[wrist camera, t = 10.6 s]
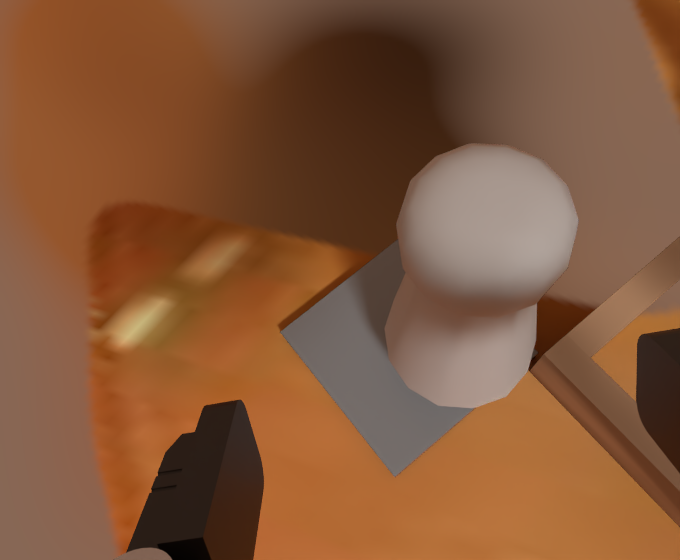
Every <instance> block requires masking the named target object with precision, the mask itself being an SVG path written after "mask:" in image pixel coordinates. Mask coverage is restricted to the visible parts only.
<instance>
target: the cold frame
mask: <svg viewBox="0 0 680 560" xmlns="http://www.w3.org/2000/svg"><path fill="white" fill-rule="evenodd" d="M679 279H680V237H679V238H677V239H676V240H675V241H674V242H673V243H672V244H671V245H669V246H668V247H667V248H666V249H665V250H664V251H662V253H660V254H659V255H658V256H657V257H656V258H654V259H653V260H652V261H651V262H650V263H649V264H648V265H646V266H645V267H644V268H643V269H642V270H641V271H639V272H638V273H637V274H636V275H635V276H634V277H632V278H631V279H630V280H629V281H628V282H627V283H625V284H624V285H623V286H622V287H621V288H620V289H618V291H616V292H615V293H614V294H613V295H612V296H610V297H609V298H608V299H607V300H606V301H605V302H603V303H602V304H601V305H600V306H599V307H598V308H596V309H595V310H594V311H593V312H592V313H591V314H590V315H588V316H587V317H586V318H585V319H584V320H583V321H581V322H580V323H579V324H578V325H577V326H576V327H575V328H573V329H572V330H571V331H570V332H569V333H568V334H566V335H565V336H564V337H563V338H562V339H561V340H559V341H558V342H557V343H556V344H555V345H554V346H553V347H551V348H550V349H549V350H548V351H547V352H546V353H544V354H543V356H542V357H541V358H540V359H539V360H538V362H537V363H536V364H535V365H534V366H533V367H532V369H531V370H530V372H531V373H532V374H533V375H534V376H535V377H536V378H537V379H538V380H539V381H540V383H541V384H542V385H543V386H544V387H545V388H546V389H547V390H548V391H549V392H550V393H551V394H552V395H553V396H554V397H555V398H556V399H557V400H558V401H559V402H560V403H561V404H562V405H563V406H564V407H565V408H566V409H567V410H568V412H569V413H570V414H571V415H572V416H573V417H574V418H575V419H576V420H577V421H578V422H579V423H580V424H581V425H582V426H583V427H584V428H585V429H586V430H587V431H588V432H589V433H590V434H591V435H592V436H593V437H594V438H595V440H596V441H597V442H598V443H599V444H600V445H601V446H602V447H603V448H604V449H605V450H606V451H607V452H608V453H609V454H610V455H611V456H612V457H613V458H614V459H615V460H616V461H617V462H618V463H619V464H620V465H621V466H622V467H623V469H624V470H625V471H626V472H627V473H628V474H629V475H630V476H631V477H632V478H633V479H634V480H635V481H636V482H637V483H638V484H639V485H640V486H641V487H642V488H643V489H644V490H645V491H646V492H647V493H648V494H649V495H650V497H651V498H652V499H653V500H654V501H655V502H656V503H657V504H658V505H659V506H660V507H661V508H662V509H663V510H664V511H665V512H666V513H667V514H668V515H669V516H670V517H671V518H672V519H673V520H674V521H675V522H676V523H677V524H678V526H679V527H680V473H679V472H678V471H677V469H676V468H675V467H674V466H673V464H672V463H671V462H670V461H669V459H668V458H667V457H666V455H665V454H664V453H663V452H662V450H661V449H660V448H659V447H658V445H657V444H656V443H655V441H654V440H653V439H652V438H651V436H650V435H649V434H648V432H647V431H646V429H645V428H644V426H643V424H642V422H641V419H640V416H639V413H638V409H637V403H636V402H635V401H634V400H633V399H632V398H631V397H630V396H629V395H628V394H627V393H626V392H625V391H624V390H623V389H622V388H621V387H620V386H619V385H618V384H617V383H616V382H615V381H614V380H613V379H612V378H611V377H610V376H609V375H608V374H607V373H606V372H605V371H604V370H603V369H602V368H601V367H599V366H598V365H597V364H596V363H595V362H594V361H593V360H592V359H591V357H592V356H593V355H594V354H595V353H596V352H598V351H599V350H600V349H601V348H602V347H603V346H604V345H606V344H607V343H608V342H609V341H610V340H611V339H612V338H614V337H615V336H616V335H617V334H618V333H619V332H620V331H622V330H623V329H624V328H625V327H626V326H627V325H628V324H629V323H631V322H632V321H633V320H634V319H635V318H636V317H637V316H639V315H640V314H641V313H642V312H643V311H644V310H645V309H647V308H648V307H649V306H650V305H651V304H652V303H653V302H654V301H656V300H657V299H658V298H659V297H660V296H661V295H662V294H664V292H666V291H667V290H668V289H669V288H670V287H671V286H673V285H674V284H675V283H676V282H677V281H678V280H679Z"/></svg>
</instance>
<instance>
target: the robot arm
mask: <svg viewBox="0 0 680 560" xmlns="http://www.w3.org/2000/svg"><path fill="white" fill-rule="evenodd" d="M636 402H637V409H638V413H639V416H640V419H641V422H642V424H643V426H644V428H645V429H646V431H647V432H648V434H649V435H650V436H651V438H652V439H653V440H654V441H655V443H656V444H657V445H658V447H659V448H660V449H661V450H662V452H663V453H664V454H665V455H666V457H667V458H668V459H669V461H670V462H671V463H672V464H673V466H674V467H675V468H676V469H677V471H678V472H679V473H680V328H678V329H672V330H666V331H660V332H654V333H647V334H642V335H641V336H640V337H639V339H638V343H637V386H636ZM263 489H264V476H263V467H262V462H261V457H260V454H259V451H258V447H257V444H256V441H255V437H254V434H253V431H252V427H251V424H250V421H249V417H248V414H247V411H246V408H245V405H244V403H243V402H242V401H241V400H235V401H229V402H223V403H217V404H211V405H206V406H204V408H203V410H202V413H201V416H200V419H199V421H198V424H197V427H196V430H195V432H192V433H186V434H182V435H181V436H180V437H179V438H178V439H177V440H176V441H175V443H174V444H173V445H172V446H171V447H170V448H169V449H168V450H167V452H166V453H165V455H164V458H163V460H162V463H161V465H160V468H159V471H158V476H156V478H155V481H154V483H153V486H152V488H151V490H152V493H149V496H148V499H147V501H146V504H145V506H144V509H143V511H142V514H141V516H140V519H139V521H138V524H137V527H136V529H135V532H134V534H133V537H132V539H131V542H130V544H129V547H128V550H127V552H126V553H125V554H123V555H121V556H119V557H117V558H115V559H114V560H253V557H254V550H255V543H256V537H257V530H258V523H259V516H260V510H261V503H262V496H263Z"/></svg>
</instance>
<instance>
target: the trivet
mask: <svg viewBox="0 0 680 560" xmlns="http://www.w3.org/2000/svg"><path fill="white" fill-rule="evenodd" d="M405 273H406V272H405V271H404V269H403V266H402V260H401V254H400V247H399V241H398V239H397V240H396V241H395V242H394V243H392V244H391V245H390V246H389V247H387V248H386V249H385V250H384V251H382V252H381V253H380V254H378V255H377V256H376V257H375V258H373V259H372V260H371V261H370V262H368V263H367V264H366V265H365V266H363V267H362V268H361V269H359V270H358V271H357V272H356V273H354V274H353V275H352V276H351V277H349V278H348V279H347V280H345V281H344V282H343V283H342V284H340V285H339V286H338V287H337V288H335V289H334V290H333V291H332V292H330V293H329V294H328V295H326V296H325V297H324V298H323V299H321V300H320V301H319V302H318V303H316V304H315V305H314V306H312V307H311V308H310V309H309V310H307V311H306V312H305V313H304V314H302V315H301V316H300V317H299V318H297V319H296V320H295V321H293V322H292V323H291V324H290V325H288V326H287V327H286V328H285V329H283V330H282V331H281V332H280V333H281V334H282V335H283V336H284V338H285V339H286V340H287V342H288V343H289V344H290V345H291V347H292V348H293V349H294V350H295V352H296V353H297V354H298V355H299V357H300V358H301V359H302V360H303V362H304V363H305V364H306V366H307V367H308V368H309V369H310V371H311V372H312V373H313V374H314V376H315V377H316V378H317V379H318V381H319V382H320V383H321V385H322V386H323V387H324V388H325V390H326V391H327V392H328V393H329V395H330V396H331V397H332V398H333V400H334V401H335V402H336V403H337V405H338V406H339V407H340V409H341V410H342V411H343V412H344V414H345V415H346V416H347V417H348V419H349V420H350V421H351V422H352V424H353V425H354V426H355V428H356V429H357V430H358V431H359V433H360V434H361V435H362V436H363V438H364V439H365V440H366V441H367V443H368V444H369V445H370V446H371V448H372V449H373V450H374V452H375V453H376V454H377V455H378V457H379V458H380V459H381V460H382V462H383V463H384V464H385V465H386V467H387V468H388V469H389V471H390V472H391V473H392V474H393V476H394V477H396V476H397V475H398V474H400V473H401V472H402V471H403V470H404V469H405V468H406V467H408V466H409V465H410V464H411V463H412V462H413V461H415V460H416V459H417V458H418V457H419V456H420V455H422V454H423V453H424V452H425V451H426V450H427V449H429V448H430V447H431V446H432V445H433V444H434V443H435V442H437V441H438V440H439V439H440V438H441V437H442V436H444V435H445V434H446V433H447V432H448V431H449V430H451V429H452V428H453V427H454V426H455V425H456V424H457V423H459V422H460V421H461V420H462V419H463V418H464V417H466V416H467V415H468V414H469V413H470V412H471V411H473V410H474V409H475V408H476V407H475V408H462V407H448V406H438V405H436V404H434V403H433V402H431V401H429V400H428V399H426V398H424V397H423V396H421V395H419V394H418V393H416V392H414V391H413V390H411V389H409V388H408V387H407V385H406V384H405V382H404V381H403V379H402V378H401V377H400V375H399V374H398V372H397V371H396V370H395V368H394V367H393V365H392V364H391V362H390V361H389V356H388V349H387V343H386V336H385V325H386V322H387V319H388V316H389V313H390V310H391V307H392V304H393V301H394V298H395V296H396V294H397V291H398V289H399V287H400V284H401V282H402V280H403V278H404V275H405ZM537 354H538V352H537V351H536V350H535V349H534V350H533V353H532V357H531V360H532V359H533V358H534V357H535V356H536V355H537Z"/></svg>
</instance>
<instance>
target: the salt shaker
mask: <svg viewBox="0 0 680 560" xmlns="http://www.w3.org/2000/svg"><path fill="white" fill-rule="evenodd" d="M578 221H579V220H578V217H577V213H576V210H575V207H574V204H573V201H572V198H571V194H570V191H569V188H568V186H567V185H566V184H565V183H564V181H563V180H562V179H561V178H560V177H559V176H558V175H557V174H556V173H555V172H554V171H553V170H552V169H551V168H550V167H549V165H548V164H547V163H546V162H545V161H544V160H543V159H541V158H539V157H536V156H534V155H531V154H529V153H526V152H524V151H522V150H519V149H516V148H514V147H512V146H509V145H500V144H498V145H497V144H471V143H470V144H467V145H465V146H462V147H459V148H457V149H454V150H451V151H449V152H446V153H444V154H441V155H438V156H436V157H435V158H434V159H433V160H431V161H430V162H429V163H428V164H427V165H426V166H425V167H424V168H423V169H422V170H421V171H420V172H419V173H418V174H417V175H416V176H415V177H414V178H413V179H411V181H410V183H409V186H408V190H407V192H406V196H405V198H404V202H403V205H402V208H401V211H400V214H399V217H398V220H397V223H396V227H397V235H398V241H399V247H400V254H401V260H402V266H403V269H404V271H405V272H406V273H405V275H404V278H403V280H402V282H401V284H400V287H399V289H398V291H397V294H396V296H395V298H394V301H393V304H392V307H391V310H390V313H389V316H388V319H387V322H386V325H385V336H386V343H387V349H388V356H389V361H390V362H391V364H392V365H393V367H394V368H395V370H396V371H397V372H398V374H399V375H400V377H401V378H402V379H403V381H404V382H405V384H406V385H407V387H408V388H409V389H411V390H413V391H414V392H416V393H418V394H419V395H421V396H423V397H424V398H426V399H428V400H429V401H431V402H433V403H434V404H436V405H438V406H448V407H462V408H475V407H478V406H481V405H484V404H487V403H489V402H492V401H495V400H498V399H501V398H503V397H506V396H507V395H508V394H509V393H510V391H511V390H512V389H513V388H514V387H515V386H516V384H517V383H518V382H519V381H520V380H521V378H522V377H523V376H524V375H525V374H526V373H527V371H528V368H529V365H530V361H531V357H532V353H533V350H534V346H535V342H536V325H537V302H538V301H539V300H540V299H541V298H542V297H543V295H544V294H545V293H546V292H547V291H548V290H549V289H550V288H551V286H552V285H553V284H554V283H555V282H556V281H557V280H558V279H559V277H560V276H561V275H562V274H563V273H564V272H565V271H566V270H567V268H568V265H569V261H570V257H571V253H572V249H573V245H574V241H575V237H576V233H577V226H578Z"/></svg>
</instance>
